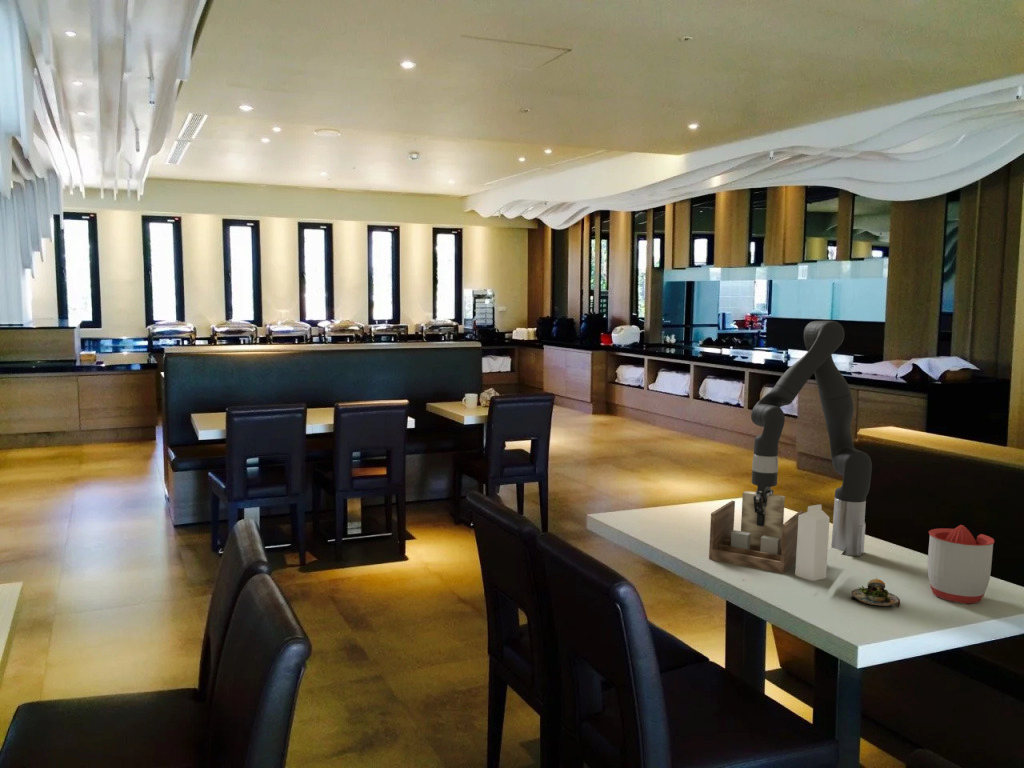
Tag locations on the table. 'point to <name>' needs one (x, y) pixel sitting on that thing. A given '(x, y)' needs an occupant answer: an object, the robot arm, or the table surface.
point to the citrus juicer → (959, 564)
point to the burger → (875, 594)
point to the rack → (752, 558)
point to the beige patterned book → (772, 518)
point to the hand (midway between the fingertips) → (762, 524)
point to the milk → (812, 544)
